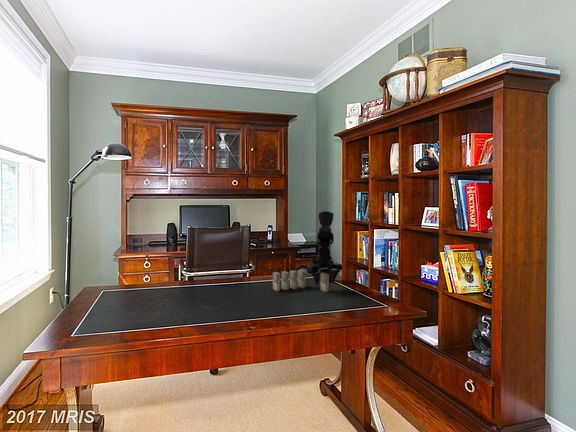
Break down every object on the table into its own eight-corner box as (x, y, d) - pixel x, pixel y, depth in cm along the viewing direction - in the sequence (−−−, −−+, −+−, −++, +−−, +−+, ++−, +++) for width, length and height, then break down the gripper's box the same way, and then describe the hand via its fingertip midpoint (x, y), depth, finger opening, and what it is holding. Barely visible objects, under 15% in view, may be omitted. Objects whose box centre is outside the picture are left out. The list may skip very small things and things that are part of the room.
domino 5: (323, 289, 203) (323, 272, 203) (328, 291, 199) (328, 274, 198) (320, 289, 202) (320, 272, 202) (325, 292, 198) (325, 274, 197)
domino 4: (301, 285, 211) (301, 269, 210) (305, 287, 207) (305, 271, 206) (297, 286, 210) (297, 269, 209) (302, 288, 206) (302, 271, 205)
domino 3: (293, 286, 209) (293, 270, 208) (297, 288, 204) (297, 272, 204) (289, 287, 208) (289, 270, 207) (293, 289, 203) (293, 272, 203)
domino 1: (276, 288, 204) (276, 271, 204) (280, 290, 200) (280, 273, 199) (272, 289, 203) (272, 272, 203) (276, 291, 199) (276, 274, 198)
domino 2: (284, 287, 206) (284, 271, 206) (288, 289, 202) (288, 272, 202) (281, 288, 205) (281, 271, 205) (285, 290, 201) (285, 273, 201)
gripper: (331, 251, 211) (331, 279, 212) (301, 253, 203) (301, 282, 204) (343, 254, 201) (342, 283, 202) (312, 256, 193) (311, 287, 194)
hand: (324, 284), depth 200 cm, fingers open, 9 cm apart
